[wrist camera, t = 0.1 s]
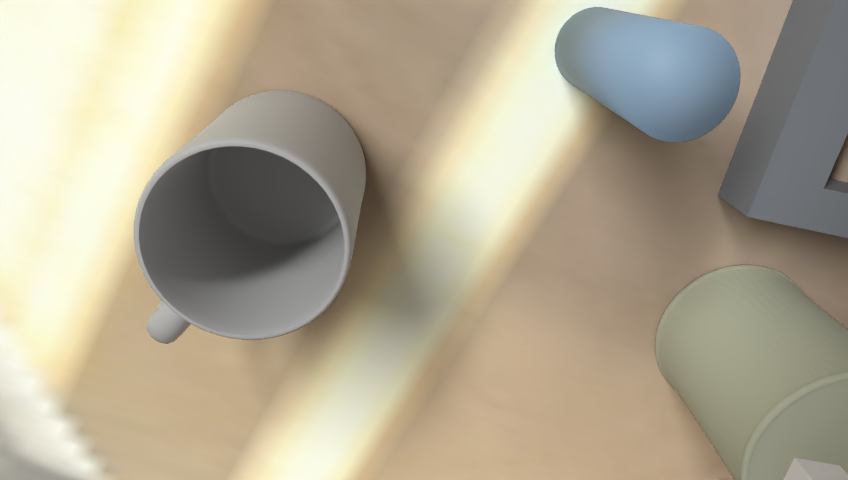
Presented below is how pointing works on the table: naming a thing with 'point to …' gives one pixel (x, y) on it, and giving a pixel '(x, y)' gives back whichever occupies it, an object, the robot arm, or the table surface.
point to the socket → (797, 126)
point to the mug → (252, 220)
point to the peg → (651, 70)
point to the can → (758, 370)
